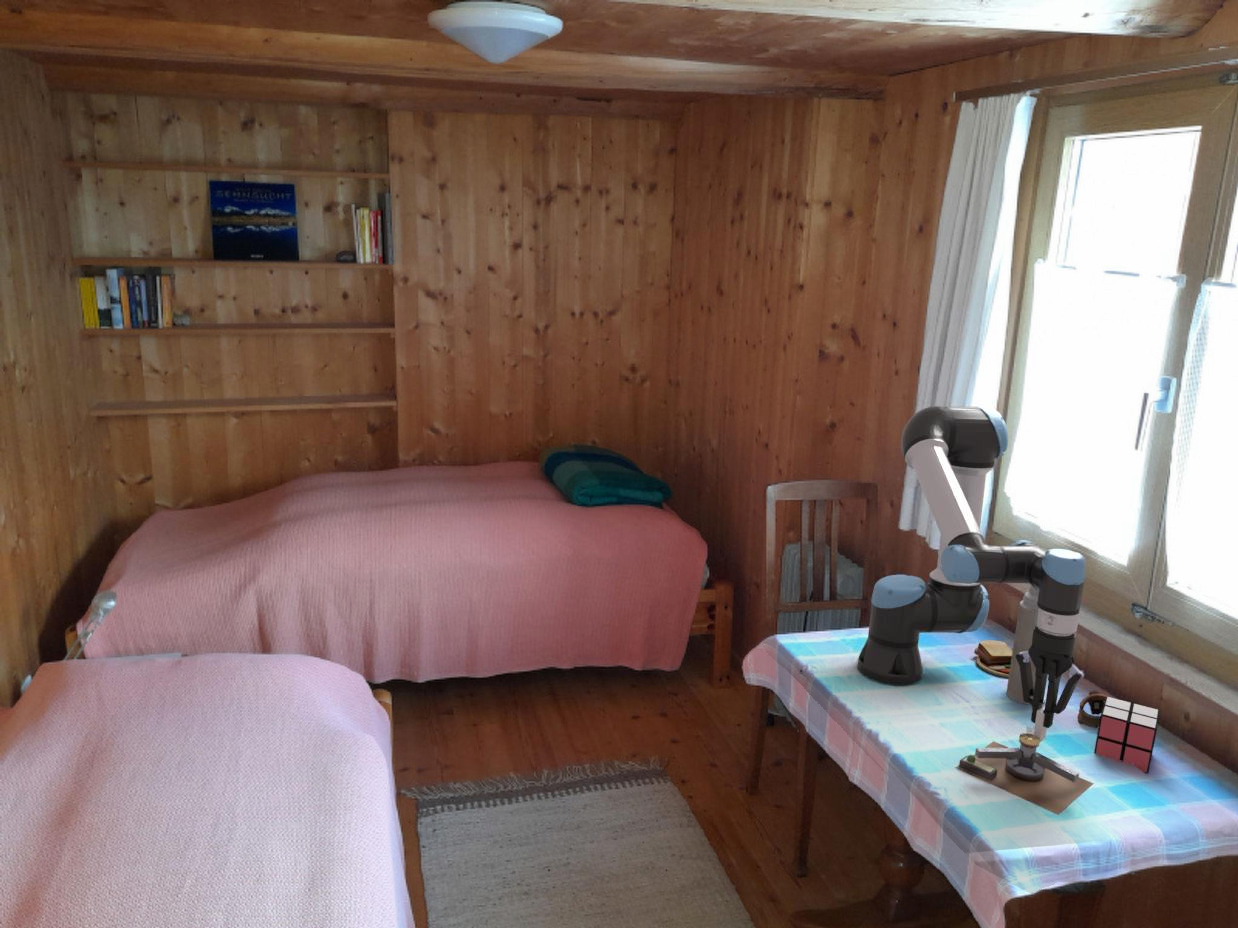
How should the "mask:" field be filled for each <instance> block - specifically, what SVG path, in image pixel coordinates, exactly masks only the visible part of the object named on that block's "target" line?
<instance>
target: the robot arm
mask: <svg viewBox="0 0 1238 928" xmlns="http://www.w3.org/2000/svg"><path fill="white" fill-rule="evenodd" d="M1008 444H1009V433H1008V428H1007V424H1006V422H1005V420H1004V418H1003V416H1002V414H1001V413H1000V412H999V411H997V410H995V409H994V408H990V407H982V406H981V407H980V406H941V405H934V406H933V405H932V406H927V407H925V408H922V409H921V410H919V411H917V412H916V413H914V414H913V415H912V416H911V417H910V418H909V419H908V421H907V423H906V424H905V426H904V427H903V430H902V433H901V441H900V447H901V453H902V456H903V458H904V461H905V464H906V465H907V467H908V468H910V469H911V470H912V469H913V471H914V472H915V475H916V477H917V480H918V482H919V483H918V484H919V485H920V487H921V490H922V492H923V495H924V497H925V499H926V501H927V504H928V507H929V509H930V511H931V514H932V516H933V518H934V521H935V523H936V525H937V528H938V530H939V533H940V536H939V545H938V556H937V567H936V568H935V569H934V570H932V571H931V572H930V573H929V576H928V577H929V580H928V583H926V582H925V581H924V580H923V579H922V578H921V577H918V576H914V575H907V574H893V575H887V576H884V577H882V578H880V579H879V580H877V581H876V582H875V584H874V587H873V591H872V595H871V599H870V600H871V604H870V605H871V606H870V618H869V624H868V634H867V639H866V641H865V643H864V645H863V647H862V650H861V651H860V653H859V654H858V658H857V664H856V665H857V666H856V667H857V670H858V672H859V673H860V674H862V676H864V677H865V678H867V679H870V680H871V681H874V682H877V683H880V684H881V683H882V684H886V685H890V686H891V685H892V686H909V685H913V684H914V685H915V684H917V683H919V682H920V681H921V680H922V677H923V672H924V667H923V663H922V657H921V654H920V653H921V652H920V649H919V643H920V642H919V640H920V634H922V633H923V634H924V633H926V634H927V633H928V634H930V633H932V634H936V633H938V634H939V633H940V634H941V633H943V634H944V633H945V634H947V633H951V634H952V633H953V634H963V633H973V632H976V631H978V630H979V629H980V628H982V627H983V625H984V624H985V622H986V620H987V618H988V615H989V611H990V599H988V598H989V593H988V591H987V589H986V588H985V586H984V585H983V584H1028V585H1029V586H1033V587H1034V588H1036V589H1038V590H1039V593H1038V602H1037V609H1036V616H1035V625H1036V626H1035V627H1034V629H1033V637H1032V645H1031V647H1030V648H1029V650H1028V651H1026V652H1025V651H1022V652H1020V653H1018V654H1017V655H1016V659H1017V661H1018V664H1019V666H1020V674H1021V683H1022V691H1023V700H1024V702H1026V703H1029V704H1028V705H1031V708H1032V709H1031V715H1030V721H1031V723H1033V724H1034V727H1033V728H1034V735H1035V736H1037V737H1038V738H1039V739H1040V743H1041V742H1043V741H1044V740H1046V737H1047V736H1046V735H1047V730H1048V729H1049V728H1050V727H1051V726H1052V725H1053V720H1054V716H1055V714H1056V715H1060V714H1061V713H1062V712H1064V711H1065V710H1066V708H1067V706H1068V704H1069V702H1070V699H1071V698H1072V695H1073V694H1074V691H1075V690H1076V687H1077V685H1078V683H1079V681H1080V680H1081V679H1083V678H1084V677H1085V676H1086V672H1085V671H1084V670H1083V669H1082V670H1081V669H1079V668H1078V667H1077V666H1076V665H1075V659H1074V651H1075V645H1076V636H1077V634H1076V632H1077V631H1078V630H1077V629H1078V626H1079V625H1078V624H1079V618H1080V609H1081V605H1082V604H1081V603H1082V597H1083V592H1084V587H1085V581H1086V578H1087V576H1086V566H1087V560H1086V558H1085V556H1084V555H1082V554H1081V553H1079V552H1077V551H1072V550H1070V549H1065V548H1050V549H1048V550H1047V549H1046V548H1044V547H1043V546H1042V545H1040V544H1037V543H1035V542H1032V541H1030V540H1026V539H1020V540H1016V541H1014V542H1012V543H1010V544H1009V545H988V544H987V542H986V540H985V537H984V535H983V533H982V531H981V523H982V516H983V506H984V505H983V504H984V496H985V488H986V481H987V480H986V479H987V474H988V473H990V471H992V470H993V469H994V468H995V461H996V460H997V459H1000V458H1002V457H1003V456H1005V454H1006V453H1005V452H1006V451H1007V450H1008ZM1031 660H1032V662H1033V664H1034V666H1035V667H1036V672H1035V676H1036V679H1035V687H1034V686H1033V678H1032V669H1031V663H1030V661H1031ZM1067 671H1069V673H1068V680H1067V681H1066V684H1065V685H1064V687H1063V690H1062V692H1061V694H1060V697H1059V698H1058V695H1059V689H1060V682H1061V679H1062V675H1063V674H1065V673H1066V672H1067ZM1047 674H1048V676H1047ZM1046 680H1047V682H1048V684H1047V682H1046ZM1045 687H1046V688H1047V690H1046V689H1045ZM1044 694H1046V696H1045V695H1044ZM1044 700H1045V701H1044ZM1043 705H1044V706H1043Z"/></svg>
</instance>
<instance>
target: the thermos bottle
mask: <svg viewBox="0 0 1238 928" xmlns="http://www.w3.org/2000/svg"><path fill="white" fill-rule="evenodd" d="M1038 593H1039V590H1038V589H1036V588H1034V587H1033V586H1031V585H1029V591H1027V592H1024V596H1023V597H1022V598H1023V600H1021V601H1020V602H1019V604H1018V605H1019V606H1018V612H1017V613H1018V614H1017V621H1016V627H1015V632H1014V640H1013V647H1012V648H1013V652H1012V659H1011V665H1010V672H1009V678H1008V679H1007V686H1006V695H1007V696H1008V698H1010V699H1011V700H1013V701H1015V702H1019V703H1021V704H1025V705H1026V704H1027V705H1030V704H1029V703H1026V702H1024V700H1023V691H1022V683H1021V674H1020V666H1019V664H1018V661H1017V659H1016V655H1017V654H1018V653H1020V652H1022V651H1025V652H1026V651H1028V650H1029V648H1030V647H1031V645H1032V637H1033V629H1034V627H1035V626H1036V625H1035V616H1036V609H1037V602H1038ZM1030 663H1031V669H1032V678H1033V686H1034V687H1035V679H1036V676H1035V672H1036V667H1035V666H1034V664H1033V662H1032V660H1031V661H1030ZM1048 676H1049V675H1048V674H1047V677H1048ZM1047 682H1048V679H1047V680H1046V683H1047ZM1046 688H1047V686H1046V687H1045V690H1046ZM1045 694H1046V693H1045ZM1045 694H1044V696H1045Z"/></svg>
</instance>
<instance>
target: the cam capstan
mask: <svg viewBox="0 0 1238 928" xmlns="http://www.w3.org/2000/svg"><path fill="white" fill-rule="evenodd" d="M1034 728H1035V727H1031V726H1026V729H1025V732H1024V733H1023V732H1022V733H1020V734H1019V738H1018V742H1019V743H1020V746H1019V747H1009V748H985V747H976V748H975V755H976V756H977V757H978V758H1006V764H1005V769H1006V771H1007V772H1008V773H1009V774H1010V775H1012V776H1014V777H1016V778H1018V779H1021V780H1024V781H1031V782H1035V781H1040V780H1042V779H1043V778H1044V772H1045V768H1047V769H1049V770H1050V771H1052V772H1054V773H1056V774H1058V775H1060V776H1062V777H1064V778H1066V779H1068V780H1070V781H1072V782H1076V781H1078V778H1079V777H1080V773H1079V772H1078V771H1075V770H1073V769H1071V768H1069V767H1068V766H1065V765H1063V764H1061V763H1059V762H1057V761H1055V760H1053V759H1051V758H1049V757H1047V756H1045V755H1043V754H1042V753H1039V752H1037V748H1038V747H1039V746H1040V743H1041V742H1040V739H1039V738H1038V737H1037V736H1035V735H1034Z"/></svg>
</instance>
